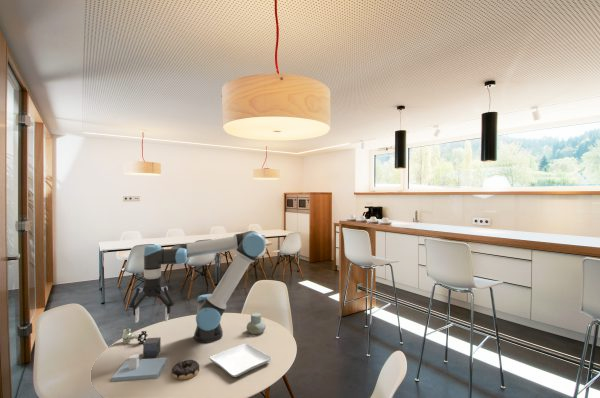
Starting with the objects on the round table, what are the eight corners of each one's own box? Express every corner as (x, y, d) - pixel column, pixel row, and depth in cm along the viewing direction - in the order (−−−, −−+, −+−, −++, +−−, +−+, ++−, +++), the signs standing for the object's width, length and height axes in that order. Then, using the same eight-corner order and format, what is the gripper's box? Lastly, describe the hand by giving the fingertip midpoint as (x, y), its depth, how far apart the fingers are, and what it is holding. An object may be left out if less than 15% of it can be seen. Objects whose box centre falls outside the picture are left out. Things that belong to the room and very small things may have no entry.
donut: (190, 364, 140) (190, 355, 140) (205, 373, 133) (205, 363, 133) (166, 374, 132) (166, 365, 132) (181, 384, 124) (181, 374, 124)
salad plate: (273, 364, 140) (273, 356, 141) (233, 383, 125) (233, 375, 125) (246, 348, 155) (246, 342, 155) (207, 364, 140) (207, 356, 140)
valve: (118, 344, 159) (139, 346, 157) (118, 332, 159) (139, 333, 157) (127, 339, 166) (147, 341, 163) (127, 327, 166) (147, 328, 164)
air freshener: (267, 330, 178) (267, 312, 178) (262, 336, 170) (262, 318, 170) (250, 328, 181) (250, 311, 181) (244, 333, 173) (244, 316, 173)
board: (167, 360, 143) (167, 346, 143) (157, 377, 129) (157, 362, 129) (126, 363, 140) (126, 349, 140) (111, 381, 126) (111, 365, 126)
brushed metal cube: (160, 351, 152) (160, 337, 152) (156, 357, 146) (156, 342, 146) (147, 352, 151) (147, 338, 151) (143, 358, 145) (143, 343, 145)
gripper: (181, 274, 154) (180, 316, 154) (128, 276, 151) (127, 319, 150) (177, 278, 147) (176, 322, 147) (121, 279, 143) (121, 325, 143)
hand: (152, 321), depth 149 cm, fingers open, 13 cm apart
